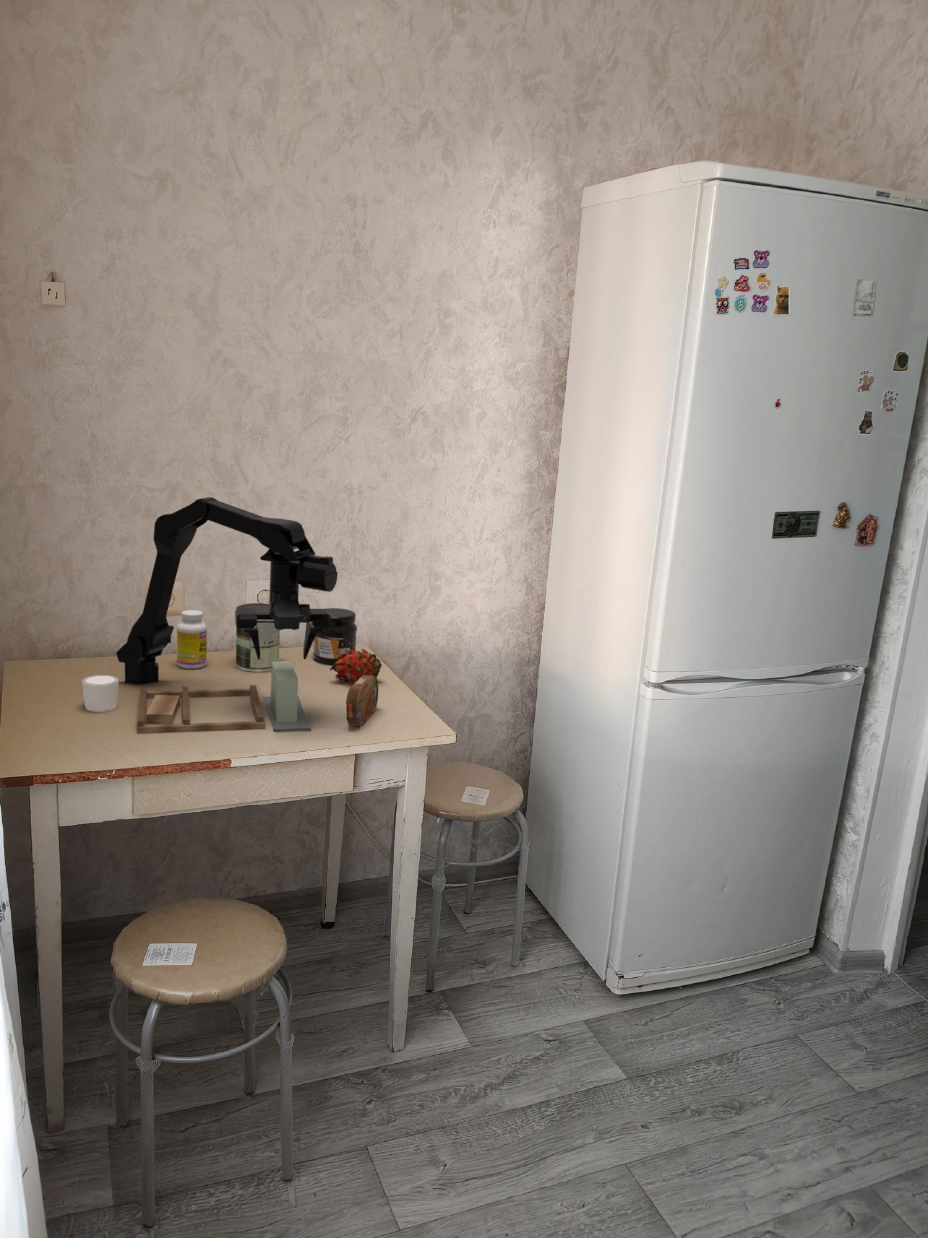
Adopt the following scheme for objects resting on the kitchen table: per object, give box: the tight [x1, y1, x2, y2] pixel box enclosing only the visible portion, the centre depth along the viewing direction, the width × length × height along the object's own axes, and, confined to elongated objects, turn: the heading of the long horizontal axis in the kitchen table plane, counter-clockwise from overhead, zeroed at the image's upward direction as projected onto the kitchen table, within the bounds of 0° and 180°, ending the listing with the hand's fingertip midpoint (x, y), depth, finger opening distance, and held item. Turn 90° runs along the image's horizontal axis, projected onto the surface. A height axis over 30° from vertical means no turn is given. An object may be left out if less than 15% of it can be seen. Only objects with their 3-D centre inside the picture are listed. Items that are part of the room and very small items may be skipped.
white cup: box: [81, 674, 120, 713], centre depth 188 cm, size 7×7×7 cm
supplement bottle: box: [176, 609, 208, 670], centre depth 220 cm, size 7×7×13 cm
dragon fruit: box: [329, 648, 383, 684], centre depth 218 cm, size 8×8×12 cm
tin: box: [345, 675, 379, 727], centre depth 195 cm, size 15×3×8 cm, turn 168°
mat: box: [262, 695, 311, 733], centre depth 195 cm, size 8×19×1 cm, turn 17°
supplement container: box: [312, 607, 358, 666], centre depth 233 cm, size 10×10×12 cm
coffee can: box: [234, 602, 281, 673], centre depth 223 cm, size 10×10×14 cm
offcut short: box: [145, 695, 181, 725], centre depth 187 cm, size 5×11×2 cm, turn 9°
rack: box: [137, 684, 266, 735], centre depth 189 cm, size 23×20×4 cm
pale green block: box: [270, 660, 299, 723], centre depth 194 cm, size 4×12×9 cm, turn 17°
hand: (281, 659), depth 193 cm, fingers open, 9 cm apart
